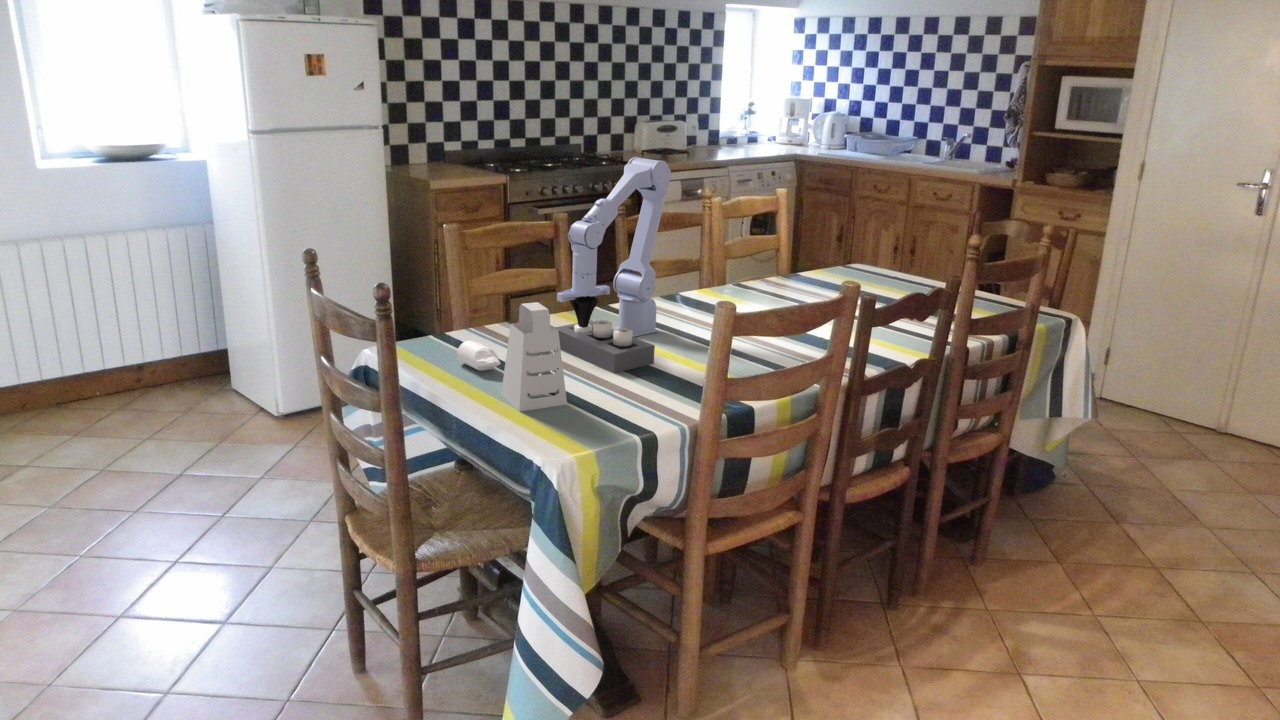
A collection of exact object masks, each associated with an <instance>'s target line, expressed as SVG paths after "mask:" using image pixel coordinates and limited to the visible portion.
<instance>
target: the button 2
mask: <svg viewBox="0 0 1280 720" xmlns="http://www.w3.org/2000/svg"><path fill="white" fill-rule="evenodd" d="M632 333H633V331H632V330H630V329H626V328H618V329H615V330H614V332H613V344H614V345H617V346H630V345H632Z"/></svg>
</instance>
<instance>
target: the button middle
mask: <svg viewBox="0 0 1280 720" xmlns="http://www.w3.org/2000/svg"><path fill="white" fill-rule="evenodd" d="M612 328H613V322H611V321H608V320H595V321H594V323H593V336H595V337H598V338H609V337H611V336H612Z"/></svg>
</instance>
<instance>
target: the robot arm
mask: <svg viewBox="0 0 1280 720" xmlns="http://www.w3.org/2000/svg"><path fill="white" fill-rule="evenodd" d="M671 176H672V171H671V169H670V167H669V165H668V163H667V162H666V161H665V160H660V159H659V160H655V159H649V158H644V157H643V158H642V157H639V156H633V157H631V158H630V159H629V160H628V162H627V163H626V164H625V165H624V168H623V175H622V176H621V178H620V179H619V180H618V181H617V183H616V185H615V186H613V189H612V190H611V191H610V193H609V194H608V196H607V197H606V198H599V199H597V200H596V201H595V202H594V205H593V206H592V207H591V208H590V210H589V211H587V213H586V214H585V215H584V216H583V217H582V219H581V220H576V221H575V222H574V223H572V224H571V225H570V228H569V231H568V233H567V239H568V241H569V242H570V249H571V252H572V276H571V277H572V279H571V281H572V282H571V283H572V284H571V285H572V286H571V288H569V289H566V290H564V291H560V292H557V293H556V301H557V302H560V303H566V302H567V301H569V302H570V304H571V306H572V308H573V310H574V313H575V316H576V320H577V321H576V322H577V323H578V326H580V327H583V328H585V327H588V324H589V321H591V317H592V314H593V312H594V310H595V308H596V306H597V305H598V303H599V298H597V296H598V297H599V296H603V295H605V296H606V295H607V296H608V295H610V293H611V287H610V286H608V285H605V284H604V285H603V284H602V285H597V266H598V265H597V264H598V247H599V246H600V245H601V244H602V243H603V239H604V235H605V233H606V230H607V228H608V227H609V226H610V225H611V223H612V222H613V221H614V220H615V219H616V217H617V216H618V214H619V210H618V208H619V207H620V206H621V205H622V203H624V202H625V201H626V200H627V199H628V198H629V197H630V196H631V195H632V193H634V192H635V191H636V190H637V191H638V192H639V193H640V194H641V196H642V203H641V204H642V205H641V207H640V212H639V216H638V218H637V219H638V220H637V223H636V227H635V232H634V236H633V240H632V244H631V249H630V253H629V257H628V259H626V260H625V261H623V262H622V263H620V264H619V267H618V270H617V272H616V274H615V275H614V278H613V281H612V282H613V283H612V285H613V289H614V292H615V293H617V296H616V297H618V298H619V303H618V306H619V307H618V326H615V327H612V329H614V330H615V329H618V328H626V329H630V330H632V331H633V333H632V337H635V338H636V337H639V336H644V335H647V334H648V335H649V334H652V333H657V332H658V329H656V327H657V326H656V324H657V304H656V301H655V300H654V298H653V297H652V296H653V294H654V292H655V289H656V282H655V281H656V275H657V272H656V271H655V269H654V268H653V267H652V265H651V264H650V262H651V259H652V255H653V251H654V246H655V242H656V238H657V236H658V235H657V234H658V230H659V226H660V223H661V222H660V221H661V220H662V219H661V217H662V214H663V210H664V206H665V201H666V198H667V194H668V189H669V186H670V185H669V184H670V181H671ZM636 272H638V273H636Z"/></svg>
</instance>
